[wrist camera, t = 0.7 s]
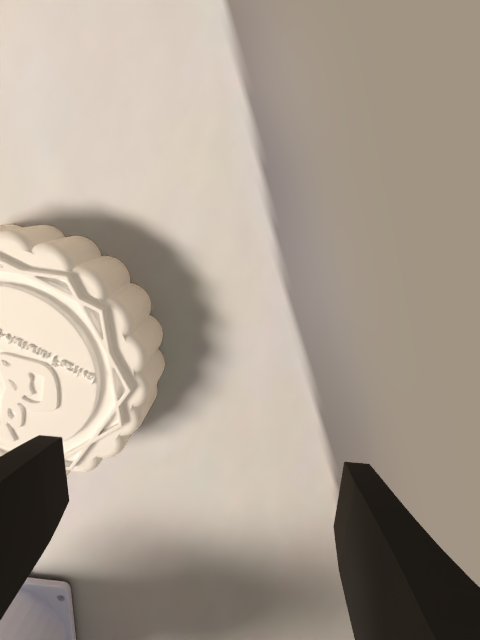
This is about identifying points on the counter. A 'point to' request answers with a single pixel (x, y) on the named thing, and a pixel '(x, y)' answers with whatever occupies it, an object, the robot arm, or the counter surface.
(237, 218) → the counter surface
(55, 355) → the mooncake
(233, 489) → the counter surface
